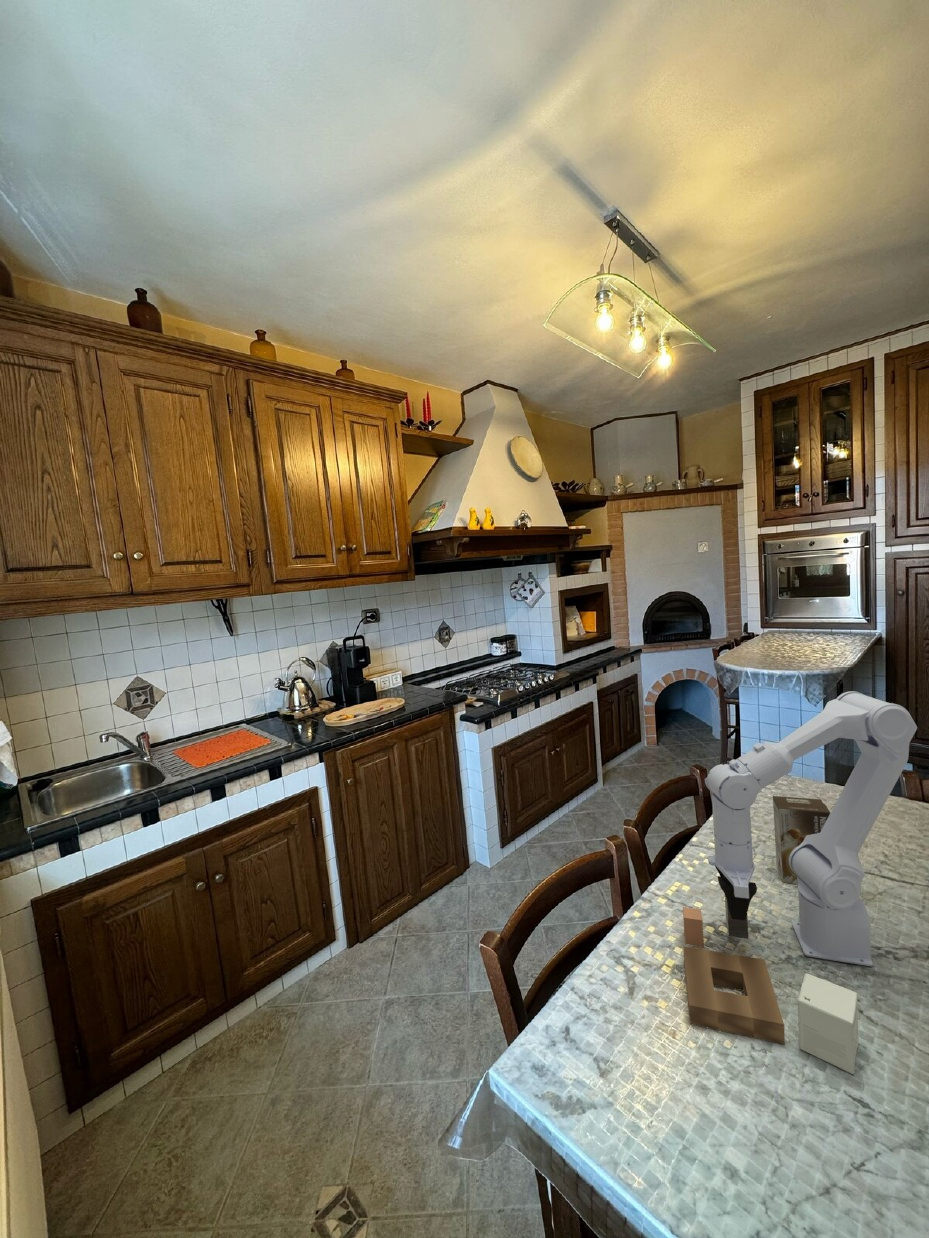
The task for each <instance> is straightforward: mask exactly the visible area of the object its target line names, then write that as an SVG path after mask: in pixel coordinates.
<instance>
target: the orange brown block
mask: <svg viewBox="0 0 929 1238" xmlns="http://www.w3.org/2000/svg"><path fill="white" fill-rule="evenodd" d="M682 917H683V919H682V921H683V934H684V944H685V945H688V946H694V947H698V948H700V947H701V948H705V942H704V926H703V925H704V923H703V915H702V909H700V908H695V907H687V906H682Z"/></svg>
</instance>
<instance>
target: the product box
mask: <svg viewBox="0 0 929 1238" xmlns="http://www.w3.org/2000/svg"><path fill="white" fill-rule="evenodd" d="M797 1015H798V1016H797V1017H798V1042H799V1043H798V1046H799V1048H800V1050H802V1051H804V1052H806V1053H807V1054H808V1053H809V1054H810V1055H812V1056H814V1057H816V1058H818V1059H820V1060H823V1061H824V1062H827V1063H829V1064H830V1065H833V1066H835V1067H837V1068H839V1069H841V1070H842V1071H844V1072H847V1073H848V1074H851V1075H854V1074H855V1064H856V1057H857V1053H858V1047H859V1039H860V1038H859V1018H858V1017H859V1016H858V1015H859V1014H858V993H857V992H855V991H853V990H851V989H849V988H846V987H843V986H841V985H838V984H835V983H833V982H831V981H828V980H825V979H822V978H820V977H818V976H815V975H812V974H809V973H807V972H806V973H804V977H803V980H802V983H801V987H800V992H799V994H798V998H797Z"/></svg>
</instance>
